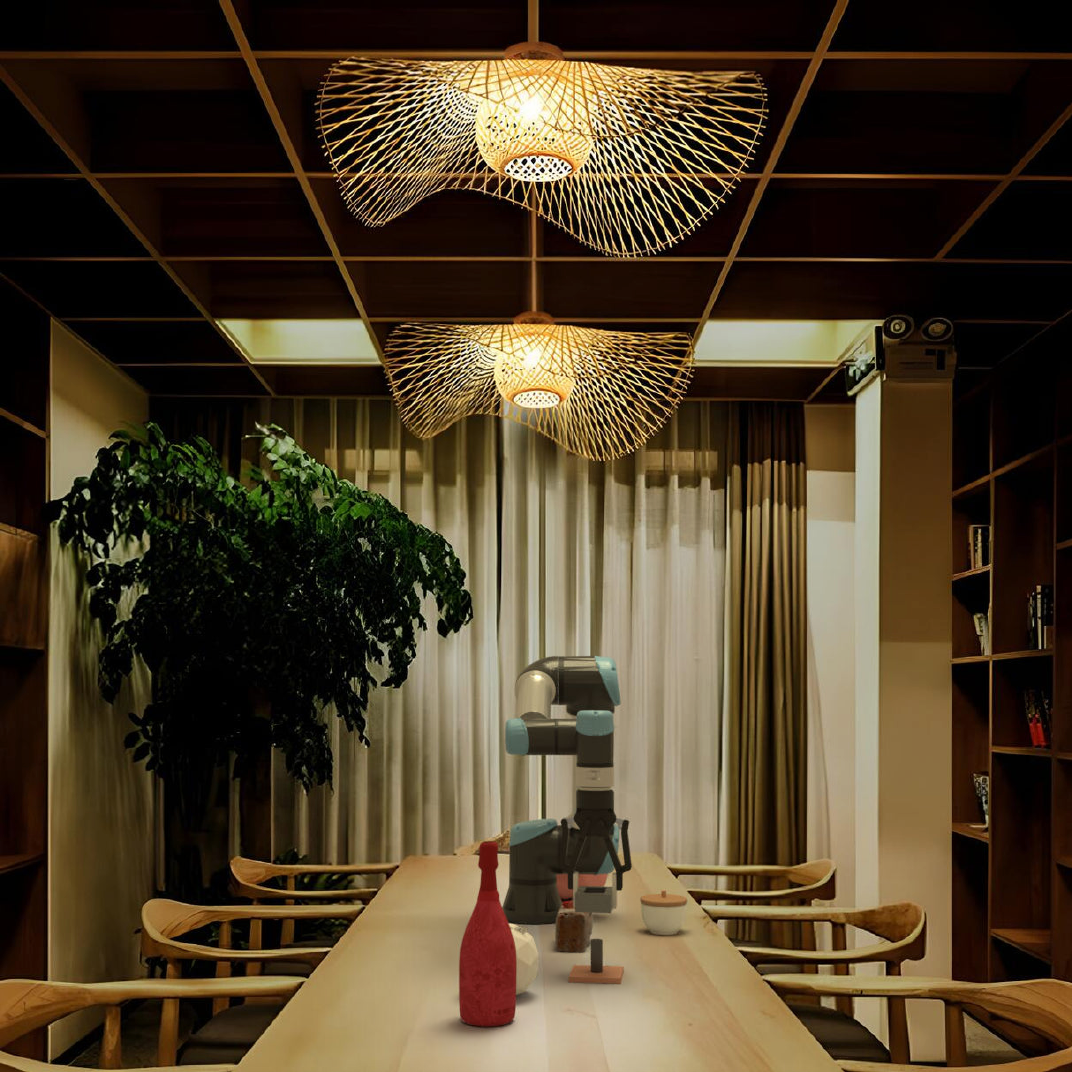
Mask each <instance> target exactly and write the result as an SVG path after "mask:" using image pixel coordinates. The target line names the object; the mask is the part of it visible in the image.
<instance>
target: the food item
mask: <svg viewBox="0 0 1072 1072" xmlns="http://www.w3.org/2000/svg"><path fill="white" fill-rule="evenodd" d="M593 920H594V919H593V913H579V912H575V908H573V900H572V899H571V900H563V902H562V906H561V907H560V910H559V912H558V914H557V917H556V922H554V924H555V932H554V933H555V935H554V936H555V945H556V948H557V951H558V952H562V953H583V952H584V951H585V950H586V948H588V947H589V942H590V941H591V935H592V934H593V923H594V922H593Z"/></svg>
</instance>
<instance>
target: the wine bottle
mask: <svg viewBox="0 0 1072 1072" xmlns="http://www.w3.org/2000/svg"><path fill="white" fill-rule="evenodd" d="M478 848H479V849H478V850H479V853H478V854H479V855H478V863H477V866H478V868H479V869H480V882H479V883H480V885H479V889H478V895H477V897H476V898H477V899H476V903H475V906H474V909H473V910H472V913H471V915H470V918H469V920H468V922H467V924H466V928H465V929H464V930H465V931H464V932H463V936H462V938H461V939H462V940H461V943H460V949H459V959H458V960H459V962H458V978H459V979H458V995H459V996H458V998H459V999H458V1000H459V1017H460V1019H461V1021H462V1022H464V1023H466V1024H467V1025H471V1026H474V1027H483V1028H484V1027H485V1028H486V1027H487V1028H488V1027H489V1028H490V1027H499V1026H504V1025H507V1024H509V1023H511V1022H512V1021H513V1020H514V1018H515V1017H516V1008H517V1007H516V1006H517V1005H516V1003H517V995H516V975H517V961H516V947H515V942H514V938H513V935H512V931H511V928H510V926H509V924H510V922H509V921H507V918H506V916H505V914H504V911H503V909H502V907H503V905H502V904H501V901H500V892H499V891H498V881H497V870H498V867H499V858H498V857H499V856H498V854H499V852H498V851H499V845H498V843H497V841H492V840H485V841H482V842H481V843H480V845H479V847H478Z"/></svg>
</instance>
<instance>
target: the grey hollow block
mask: <svg viewBox="0 0 1072 1072" xmlns="http://www.w3.org/2000/svg"><path fill="white" fill-rule="evenodd" d="M613 910H614V909H612V886H604V887H603V886H580V887H579V888H578V890H577V891H576V893H575V912H579V913H592V914H612V912H613Z"/></svg>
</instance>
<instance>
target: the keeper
mask: <svg viewBox="0 0 1072 1072" xmlns="http://www.w3.org/2000/svg"><path fill="white" fill-rule="evenodd" d="M603 941H604V940H603V939H601V938H590V965H588V964H587V965H585V964H583V965H582V964H573V965H572V968H571V970H570V973H569V975H568V983H586V984H587V983H588V984H612V985H614V984H617V985H621V984H622V980H623V977H624V972H625V970H624V969H625V968H624V966H623V965H622V966H621V965H618V966H616V965H615V966H614V965H604V961H603V960H604V959H603V957H604V954H603V953H604V948H603V945H604V942H603Z"/></svg>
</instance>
